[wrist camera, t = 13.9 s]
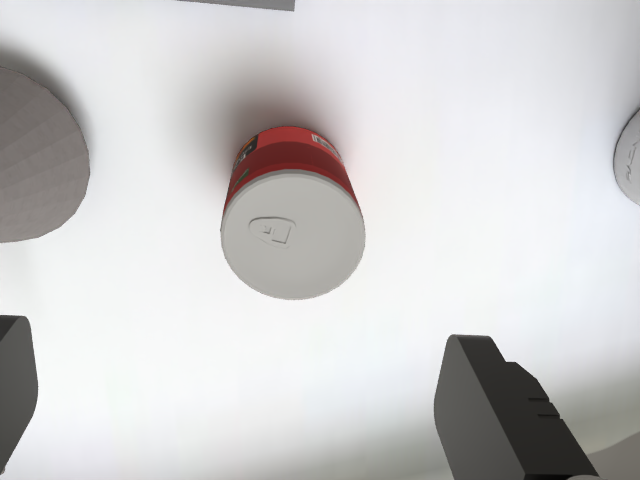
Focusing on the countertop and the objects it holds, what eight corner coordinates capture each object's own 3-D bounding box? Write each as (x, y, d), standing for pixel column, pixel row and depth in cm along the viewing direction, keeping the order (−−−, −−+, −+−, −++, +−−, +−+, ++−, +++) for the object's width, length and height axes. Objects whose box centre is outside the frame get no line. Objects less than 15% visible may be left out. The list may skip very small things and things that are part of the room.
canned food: (231, 121, 39) (216, 171, 29) (348, 124, 40) (372, 174, 30) (233, 225, 42) (221, 302, 33) (341, 226, 43) (362, 301, 33)
